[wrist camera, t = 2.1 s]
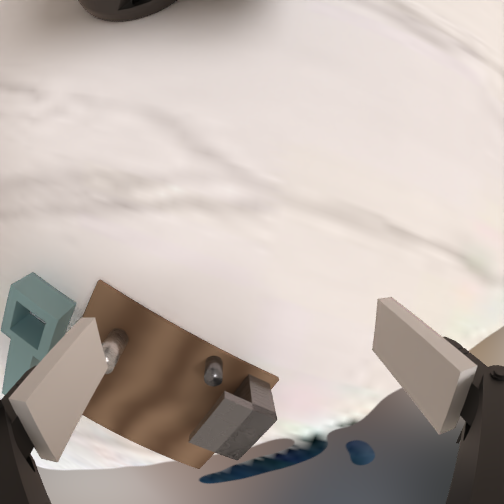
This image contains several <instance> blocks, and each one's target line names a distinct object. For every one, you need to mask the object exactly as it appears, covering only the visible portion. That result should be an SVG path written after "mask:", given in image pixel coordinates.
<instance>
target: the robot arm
mask: <svg viewBox="0 0 504 504" xmlns="http://www.w3.org/2000/svg"><path fill="white" fill-rule="evenodd" d="M78 1H79V2H80V4H81V5H82V6H83V7H84V8H85V9H86V10H87V11H88V12H89V13H90V14H91V15H93V16H94V17H97V18H99V19H102V20H107V21H128V20H133V19H138V18H142V17H145V16H148V15H151V14H153V13H156V12H158V11H160V10H162V9H164V8H166V7H168V6H169V5H171V4H172V3H174V2H175V1H177V0H78ZM372 350H373V351H374V352H375V354H376V355H377V356H378V357H379V359H380V360H381V361H382V362H383V364H384V365H385V366H386V367H387V369H388V370H389V371H390V372H391V374H392V375H393V376H394V377H395V379H396V380H397V381H398V382H399V384H400V385H401V386H402V388H403V389H404V390H405V391H406V393H407V394H408V395H409V396H410V398H411V399H412V400H413V402H414V403H415V404H416V405H417V407H418V408H419V409H420V410H421V412H422V413H423V414H424V416H425V417H426V418H427V420H428V421H429V422H430V423H431V425H432V426H433V427H434V429H435V430H436V431H437V433H438V434H442V433H444V432H447V431H449V430H452V429H454V428H455V427H456V425H457V423H458V420H459V417H460V416H462V418H463V419H464V420H465V421H466V422H465V424H464V426H463V429H462V431H461V433H460V436H459V438H458V440H457V442H456V443H459V442H460V446H459V451H458V456H457V461H456V466H455V470H454V474H453V478H452V482H451V486H450V490H449V494H448V497H447V501H446V504H504V367H503V366H499V365H496V366H495V365H493V366H490V367H487V366H486V365H485V364H483V363H482V362H481V361H480V360H479V359H477V358H476V357H475V356H474V355H472V354H471V353H469V351H467V350H466V349H465V348H463V347H462V346H461V345H460V344H459V343H457V342H456V341H454V340H452V339H449V338H447V337H442V336H441V335H439V334H438V333H437V332H436V331H434V330H433V329H432V328H431V327H429V326H428V325H427V324H426V323H424V322H423V321H422V320H421V319H419V318H418V317H417V316H415V315H414V314H413V313H412V312H410V311H409V310H408V309H406V308H405V307H404V306H403V305H401V304H400V303H399V302H397V301H396V300H395V299H394V298H392V297H388V298H381V299H378V301H377V313H376V323H375V332H374V340H373V348H372ZM107 369H108V366H107V362H106V359H105V355H104V352H103V348H102V344H101V340H100V336H99V332H98V328H97V323H96V319H95V318H80V319H79V320H78V321H77V323H76V324H75V325H74V326H73V327H72V328H71V329H70V330H69V331H68V332H67V333H66V334H65V335H64V336H63V337H62V338H61V340H60V341H59V342H58V343H57V344H56V345H55V346H54V347H53V348H52V349H51V350H50V351H49V353H48V354H47V355H46V356H45V357H44V358H43V359H42V360H41V361H40V363H39V364H38V365H37V366H34V367H32V368H31V369H29V370H27V371H26V372H25V373H24V374H23V375H22V377H21V378H20V380H18V381H17V382H16V383H15V385H14V386H13V387H12V388H11V389H10V390H9V391H8V393H7V394H6V395H5V396H4V397H3V398H2V400H0V504H51V502H50V500H49V498H48V495H47V493H46V490H45V488H44V485H43V483H42V480H41V478H40V475H39V473H38V470H37V467H36V464H35V461H34V459H33V458H32V456H31V454H30V453H31V451H32V450H33V448H35V449H36V451H37V453H38V454H39V456H40V458H42V459H46V460H50V461H54V462H58V461H59V459H60V457H61V455H62V453H63V451H64V449H65V447H66V445H67V443H68V441H69V439H70V437H71V435H72V433H73V431H74V429H75V427H76V425H77V423H78V422H79V420H80V418H81V416H82V414H83V412H84V410H85V408H86V407H87V405H88V403H89V401H90V399H91V397H92V396H93V394H94V392H95V390H96V388H97V387H98V385H99V383H100V381H101V379H102V378H103V376H104V374H105V372H106V371H107Z"/></svg>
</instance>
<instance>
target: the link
mask: <svg viewBox="0 0 504 504" xmlns="http://www.w3.org/2000/svg"><path fill="white" fill-rule="evenodd" d="M75 306H76V303H75V302H74V301H73V300H71V299H70V298H68V297H67V296H65V295H64V294H62V293H61V292H60V291H58V290H57V289H55V288H54V287H52V286H51V285H50V284H48V283H47V282H46V281H44V280H43V279H41V278H40V277H39V276H37V275H36V274H35V273H33V272H32V273H31V274H29V275H27V276H25V277H24V278H22V279H20V280H18V281H17V282H15V283H13V284H12V285H11V287H10V291H9V295H8V299H7V303H6V308H5V312H4V317H3V322H2V327H1V331H2V332H3V333H4V334H5V335H7V336H8V337H9V338H10V339H11V341H10V346H9V352H8V357H7V363H6V369H5V376H4V383H3V391H2V393H3V394H4V395H6V394H7V393H8V391H9V390H10V389H11V388H12V387H13V386H14V385H15V383H16V382H17V381H18V380H20V378H21V377H22V375H23V374H24V373H25V372H26V371H27V370H29V369H31V368H32V367H34V366H37V365H38V364H39V363H40V361H41V360H42V359H43V358H44V357H45V356H46V355H47V354H48V353H49V351H50V350H51V349H52V348H53V347H54V346H55V345H56V344H57V343H58V342H59V341H60V340H61V338H62V337H63V336H64V335H65V332H66V329H67V327H68V324H69V321H70V319H71V316H72V313H73V311H74V308H75ZM30 311H31V312H32V313H33V314H35V315H36V316H37V317H39V318H40V319H42V320H43V321H44V322H46V324H44V323H42V322H41V321H40V320H38V319H37V318H36V317H34V316H33V315H32V314H30Z"/></svg>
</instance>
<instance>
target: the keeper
mask: <svg viewBox="0 0 504 504" xmlns="http://www.w3.org/2000/svg"><path fill="white" fill-rule="evenodd" d="M204 381H205V383H206V384H207V385H209V386H213V387H214V386H218V385H220V384H221V383H222V381H223V361H222V359H221V358H220V357H218V356H209V357H208V358H207V359H206V362H205V372H204ZM276 421H277V416H276V411H275V407H274V402H273V397H272V392H271V387H270V383H268V382H265V381H263V380H261V379H259V378H257V377H254V376H252V375H250V374H248V376H247V377H246V378H245V379H244V381H243V382H242V383H241V384H240V386H239V387H238V388H237V390H236V391H235V392H234V393H233V394H230V393H228V392H226V391H224V392H223V394H222V395H221V396H220V398H219V399H218V400H217V401H216V403H215V404H214V405H213V406H212V408H211V409H210V410H209V411H208V413H207V414H206V415H205V416H204V418H203V419H202V420H201V421H200V423H199V424H198V425H197V426H196V428H195V429H194V430H193V431H192V433H191V434H190V435H189V443H192V444H194V445H197V446H199V447H202V448H204V449H207V450H209V451H212V452H215V453H218V454H220V455H224V456H226V457H229V458H232V459H235V460H239V458H240V457H242V455H244V454H245V453H246V452H247V451H248V450H249V449H250V448H251V447H252V446H253V445H254V444H255V443H256V442H257V441H258V440H259V438H260V437H261V436H262V435H263V434H264V433H265V432H266V431H267V430H268V429H269V428H270V427H271V426H272V425H273V424H274V423H275V422H276Z"/></svg>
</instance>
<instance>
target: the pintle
mask: <svg viewBox="0 0 504 504" xmlns="http://www.w3.org/2000/svg"><path fill="white" fill-rule="evenodd" d="M128 341H129V338H128V335H127V333H126V332H125V331H123V330H122V329H119V328H115V329H113V330H111V332H110V333H109V335H108V336H107V337H106V339H105V340H104V342H103V343H102V348H103V352H104V355H105V359H106V362H107V366H108V369H107V371H106V372H105V374H109V373H111V372H112V371H113V369H114V367H115V365H116V363H117V362H118V360H119V358H120V356H121V354H122V352H123V351H124V349H125V347H126V345H127V343H128Z"/></svg>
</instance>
